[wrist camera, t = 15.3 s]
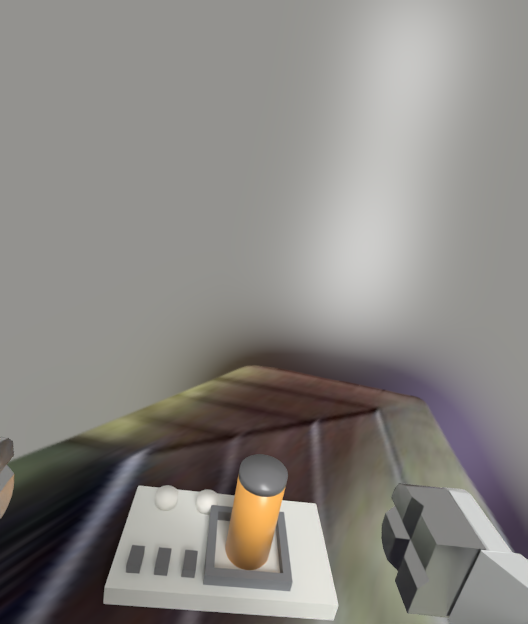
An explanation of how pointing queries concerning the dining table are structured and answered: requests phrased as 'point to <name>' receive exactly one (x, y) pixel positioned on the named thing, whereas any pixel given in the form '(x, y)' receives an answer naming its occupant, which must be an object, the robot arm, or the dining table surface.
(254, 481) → the orange capped cylinder
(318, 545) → the board
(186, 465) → the dining table surface
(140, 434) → the dining table surface
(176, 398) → the dining table surface
